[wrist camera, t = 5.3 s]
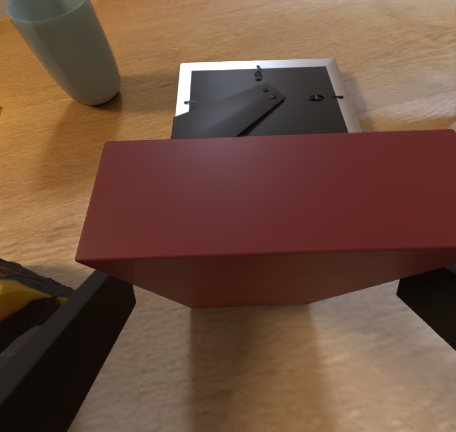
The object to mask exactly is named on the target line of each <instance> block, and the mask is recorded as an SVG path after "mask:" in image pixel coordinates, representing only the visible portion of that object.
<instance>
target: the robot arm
mask: <svg viewBox="0 0 456 432" xmlns="http://www.w3.org/2000/svg"><path fill="white" fill-rule="evenodd" d="M396 295H397V296H398V297H399V298H400V299H401V300H402V301H403V302H404V303H405V304H406V305H408V306H409V307H410V308H411V309H412V310H413V311H414V312H415V313H416V314H417V315H418V316H419V317H420V318H421V319H422V320H423V321H425V322H426V323H427V324H428V325H429V326H430V327H431V328H432V329H433V330H434V331H435V332H436V333H437V334H438V335H439V336H440V337H442V338H443V339H444V340H445V341H446V342H447V343H448V344H449V345H450V346H451V347H452V348H453V349H454V350H455V351H456V264H454V265H450V266H446V267H443V268H439V269H435V270H431V271H428V272H424V273H420V274H417V275H413V276H409V277H406V278H402V279H400V281H399V285H398V289H397V293H396ZM135 304H136V299H135V294H134V290H133V285H132V284H131V283H128V282H126V281H123V280H121V279H118V278H116V277H113V276H111V275H108V274H106V273H103V272H101V271H98V270H95V271H94V272H93V273H92V274H91V275H90V276H89V277H88V278H87V280H86V281H85V282H84V283H83V284H82V285H81V286H80V287H79V288H78V289H77V290H76V291H75V292H74V293H73V294H72V295H71V296H70V297H69V298H68V299H67V300H66V301H65V302H64V303H63V304H62V305H61V306H60V307H59V308H58V309H57V311H56V312H55V313H54V314H53V315H52V316H51V317H50V318H49V319H48V320H47V321H46V322H45V323H44V324H43V325H36V326H34V327H33V328H31V329H30V330H28V331H27V332H25V333H24V334H22V335H21V336H19V337H18V338H16V339H15V340H14V341H13V342H12V343H11V344H10V345H9V346H8V347H7V348H6V349H5V350H4V351H3V352H2V353H1V354H0V432H67V431H68V429H69V427H70V425H71V424H72V422H73V420H74V418H75V416H76V414H77V412H78V410H79V409H80V407H81V405H82V403H83V401H84V399H85V397H86V396H87V394H88V392H89V390H90V388H91V386H92V384H93V383H94V381H95V379H96V377H97V375H98V373H99V371H100V369H101V368H102V366H103V364H104V362H105V360H106V358H107V356H108V355H109V353H110V351H111V349H112V347H113V345H114V343H115V342H116V340H117V338H118V336H119V334H120V332H121V330H122V329H123V327H124V325H125V323H126V321H127V319H128V317H129V315H130V314H131V312H132V310H133V308H134V306H135Z"/></svg>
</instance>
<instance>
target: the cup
mask: <svg viewBox="0 0 456 432" xmlns="http://www.w3.org/2000/svg"><path fill="white" fill-rule="evenodd" d="M5 10H6V14H7V16H8V18H9V19H10V21H11V22H12V24H13V25H14V27H15V28H16V30H17V31H18V32H19V34H20V35H21V37H22V38H23V39H24V41H25V42H26V43H27V45H28V46H29V48H30V49H31V50H32V52H33V53H34V54H35V56H36V57H37V58H38V60H39V61H40V62H41V64H42V65H43V66H44V68H45V69H46V70H47V72H48V73H49V74H50V75H51V77H52V78H53V79H54V80H55V81H56V83H57V84H58V85H59V86H60V87H61V88H62V89H63V90H64V91H65V92H66V93H67V94H68V95H70V96H71V97H72V98H73V99H75V100H77V101H79V102H80V103H83V104H87V105H99V104H102V103H105V102H107V101H109V100H110V99H112V98H113V97H114V96H115V95H116V94H117V92H118V90H119V88H120V76H119V71H118V67H117V64H116V61H115V58H114V55H113V52H112V50H111V47H110V45H109V42H108V40H107V37H106V35H105V33H104V30H103V28H102V26H101V23H100V21H99V19H98V17H97V14H96V12H95V10H94V8H93V5H92V3H91V1H90V0H9V1H8V3H7V4H6V7H5Z"/></svg>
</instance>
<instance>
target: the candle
mask: <svg viewBox="0 0 456 432" xmlns="http://www.w3.org/2000/svg"><path fill="white" fill-rule="evenodd" d="M75 291H76V290H73V289H72V288H70V287H67V286H63V285H61V284H60V283H58V282H56V281H54V280H52V279H51V278H45V277H42V276H40V275H38V274H36V273H34V272H32V271H30V270H27V269H25V268H23V267H22V266H21V265H20V264H18V263H14V262H7V261H5V260H3V259H0V354H1V353H2V352H3V351H4V350H5V349H6V348H7V347H8V346H9V345H10V344H11V343H12V342H13V341H14V340H15V339H16V338H18V337H19V336H21V335H22V334H24V333H25V332H27V331H28V330H30V329H31V328H33V327H34V326H36V325H43V324H44V323H45V322H46V321H47V320H48V319H49V318H50V317H51V316H52V315H53V314H54V313H55V312H56V311H57V309H58V308H59V307H60V306H61V305H62V304H63V303H64V302H65V301H66V300H67V299H68V298H69V297H70V296H71V295H72V294H73V293H74V292H75Z"/></svg>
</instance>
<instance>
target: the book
mask: <svg viewBox="0 0 456 432" xmlns="http://www.w3.org/2000/svg"><path fill="white" fill-rule="evenodd" d="M75 261H76V262H78V263H81V264H83V265H86V266H88V267H91V268H93V269H96V270H98V271H101V272H103V273H106V274H108V275H111V276H113V277H116V278H118V279H121V280H123V281H126V282H128V283H131V284H133V285H136V286H138V287H140V288H143V289H145V290H148V291H150V292H153V293H155V294H158V295H160V296H163V297H165V298H168V299H170V300H173V301H175V302H178V303H180V304H183V305H185V306H188V307H190V308H208V307H236V306H264V305H292V304H309V303H313V302H317V301H320V300H324V299H328V298H331V297H335V296H339V295H343V294H346V293H350V292H354V291H357V290H361V289H365V288H369V287H372V286H376V285H380V284H383V283H387V282H391V281H394V280H398V279H402V278H406V277H409V276H413V275H417V274H420V273H424V272H428V271H431V270H435V269H439V268H443V267H446V266H450V265H454V264H456V133H455V131H454V130H453V129H441V130H413V131H386V132H358V133H331V134H303V135H276V136H248V137H221V138H193V139H166V140H138V141H111V142H106V143H105V145H104V149H103V153H102V157H101V161H100V164H99V168H98V172H97V176H96V180H95V184H94V188H93V191H92V195H91V199H90V203H89V207H88V211H87V214H86V218H85V222H84V226H83V230H82V234H81V238H80V241H79V245H78V249H77V253H76V257H75Z"/></svg>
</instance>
